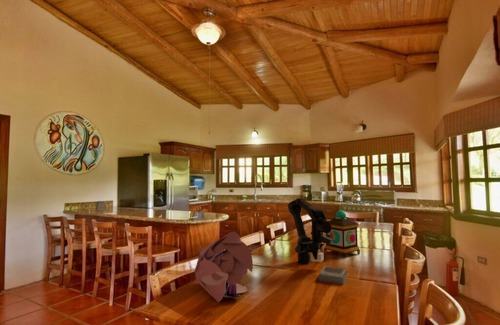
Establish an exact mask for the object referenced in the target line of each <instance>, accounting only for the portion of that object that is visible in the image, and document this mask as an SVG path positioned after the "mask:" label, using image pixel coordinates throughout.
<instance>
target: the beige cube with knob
mask: <svg viewBox="0 0 500 325" xmlns="http://www.w3.org/2000/svg"><path fill="white" fill-rule="evenodd" d="M324 254H325V252H324V251H323V252H320V249H319V250H318V255H317V260H316V259H315V258H314V256H313V254H312V252H311V253H310V262H318V263H323V262H324V259H325V258H324Z"/></svg>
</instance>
